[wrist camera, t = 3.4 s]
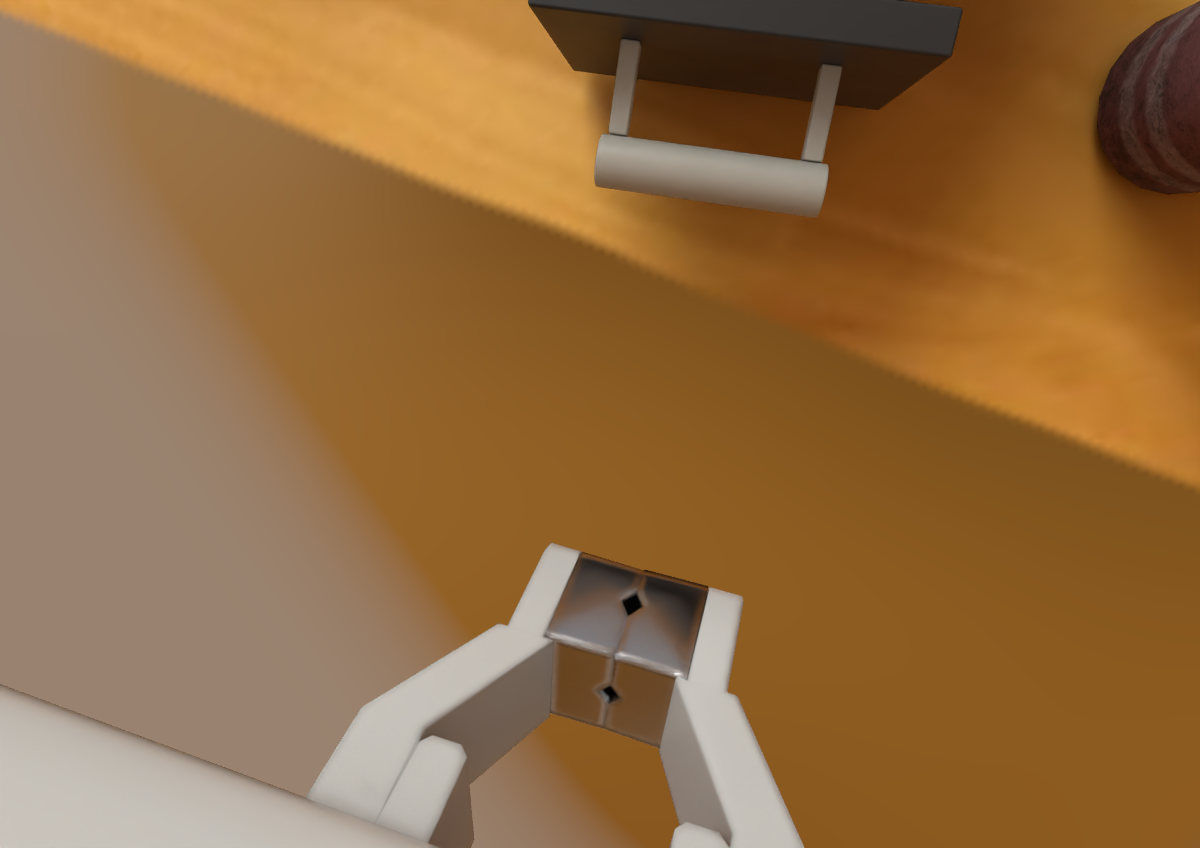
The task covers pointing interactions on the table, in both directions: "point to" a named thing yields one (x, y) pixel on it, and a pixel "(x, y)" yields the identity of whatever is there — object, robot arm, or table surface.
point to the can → (1156, 107)
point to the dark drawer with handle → (745, 80)
